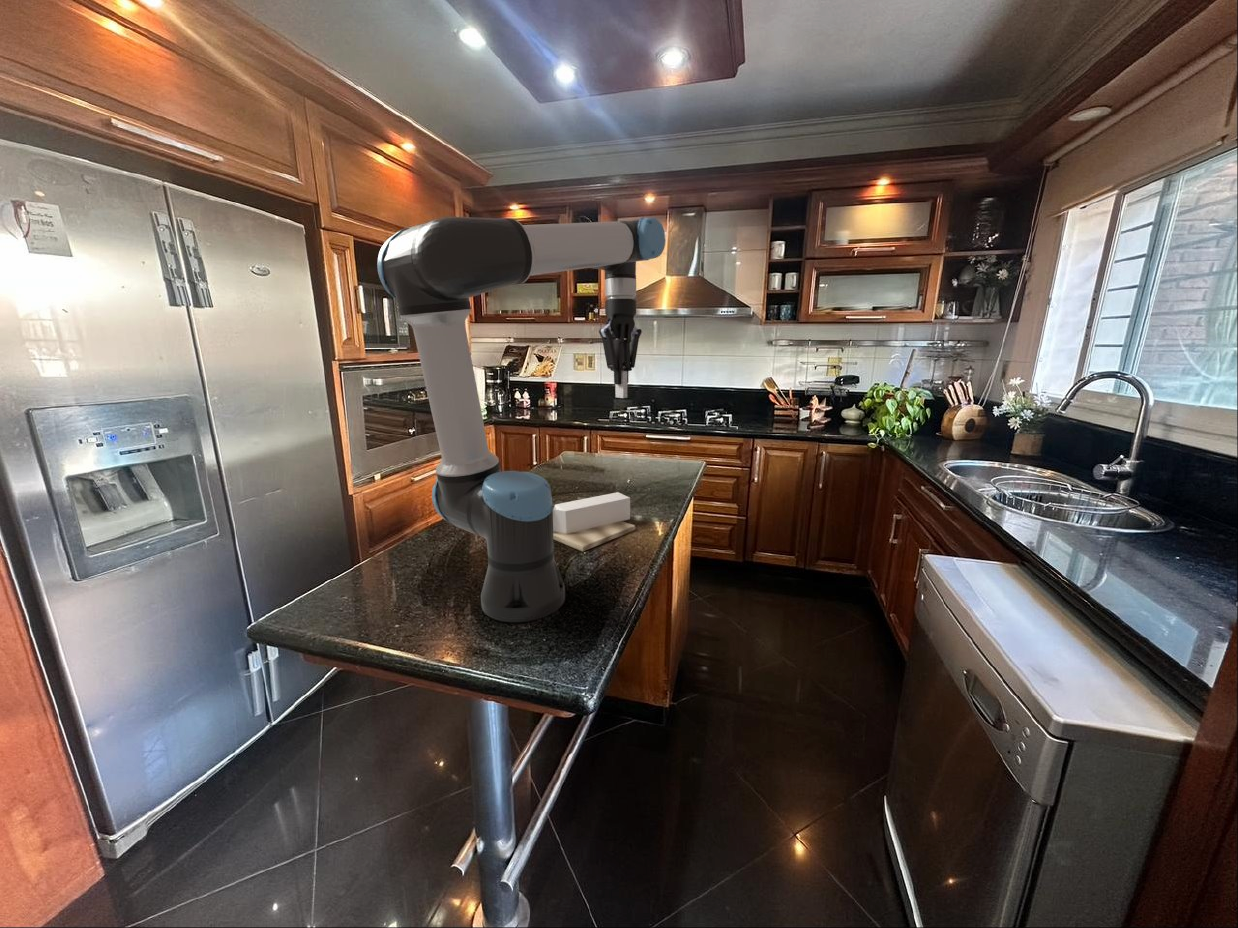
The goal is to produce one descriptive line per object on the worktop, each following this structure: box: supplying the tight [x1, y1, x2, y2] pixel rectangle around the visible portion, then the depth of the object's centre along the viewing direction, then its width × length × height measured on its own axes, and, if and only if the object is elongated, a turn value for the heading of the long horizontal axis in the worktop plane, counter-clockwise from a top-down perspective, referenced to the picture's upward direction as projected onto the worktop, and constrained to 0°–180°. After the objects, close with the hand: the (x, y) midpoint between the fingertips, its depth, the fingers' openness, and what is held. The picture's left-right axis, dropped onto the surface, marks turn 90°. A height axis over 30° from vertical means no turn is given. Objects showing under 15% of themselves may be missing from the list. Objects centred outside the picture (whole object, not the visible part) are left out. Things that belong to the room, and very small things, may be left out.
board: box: [553, 521, 636, 552], centre depth 119 cm, size 18×12×1 cm, turn 137°
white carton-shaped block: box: [553, 491, 631, 534], centre depth 122 cm, size 6×6×22 cm
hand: (621, 397), depth 121 cm, fingers closed
